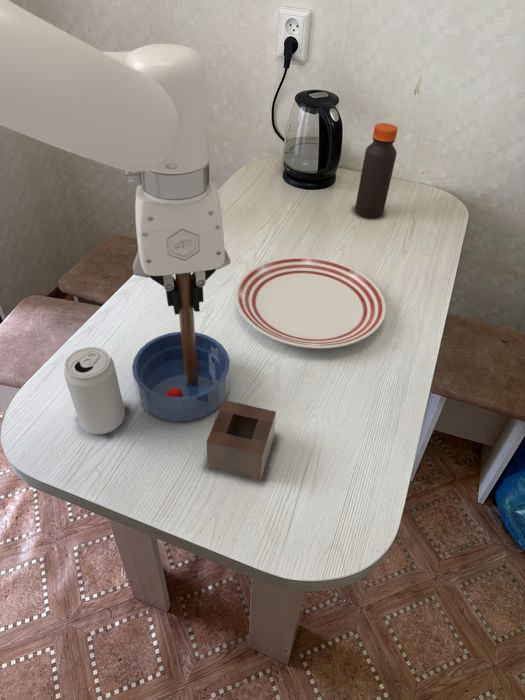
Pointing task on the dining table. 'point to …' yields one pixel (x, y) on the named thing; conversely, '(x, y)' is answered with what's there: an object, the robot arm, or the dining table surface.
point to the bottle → (377, 172)
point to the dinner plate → (310, 302)
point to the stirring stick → (187, 327)
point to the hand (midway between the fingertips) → (185, 305)
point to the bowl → (181, 377)
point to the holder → (241, 440)
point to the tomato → (174, 393)
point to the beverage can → (94, 390)
